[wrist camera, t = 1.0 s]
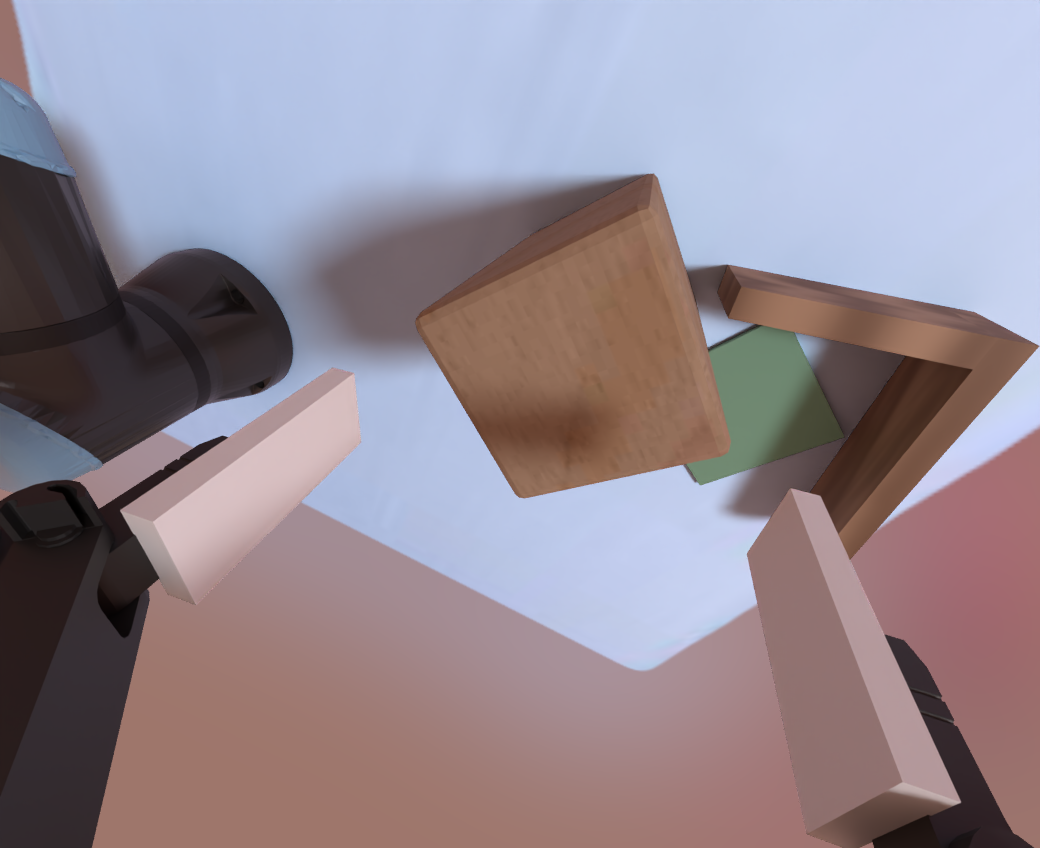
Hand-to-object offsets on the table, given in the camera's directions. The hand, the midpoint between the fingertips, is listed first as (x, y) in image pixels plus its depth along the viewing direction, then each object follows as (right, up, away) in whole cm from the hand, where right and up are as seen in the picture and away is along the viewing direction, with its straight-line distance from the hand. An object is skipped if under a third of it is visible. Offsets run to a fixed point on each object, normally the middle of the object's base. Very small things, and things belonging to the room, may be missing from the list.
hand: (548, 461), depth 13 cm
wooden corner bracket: (+21, +2, +22) cm, 30 cm away
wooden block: (+6, +13, +20) cm, 25 cm away
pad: (+18, +2, +23) cm, 29 cm away
